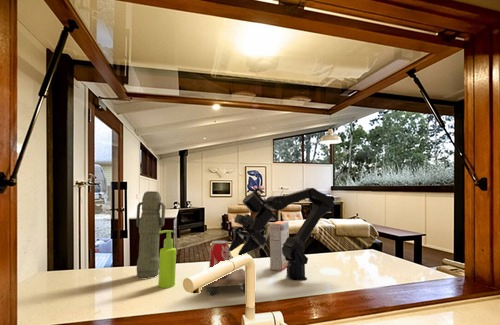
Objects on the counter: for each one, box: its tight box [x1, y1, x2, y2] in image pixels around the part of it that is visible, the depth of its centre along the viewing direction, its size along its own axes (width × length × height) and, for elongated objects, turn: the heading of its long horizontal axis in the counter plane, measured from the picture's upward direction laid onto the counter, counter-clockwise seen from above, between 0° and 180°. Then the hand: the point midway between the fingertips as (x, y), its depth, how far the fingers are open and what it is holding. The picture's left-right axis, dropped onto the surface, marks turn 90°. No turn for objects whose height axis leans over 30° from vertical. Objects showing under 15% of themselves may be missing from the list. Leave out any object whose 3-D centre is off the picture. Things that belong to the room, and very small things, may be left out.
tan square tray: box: [205, 268, 246, 296], centre depth 98 cm, size 16×14×4 cm
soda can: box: [209, 240, 230, 278], centre depth 97 cm, size 7×7×12 cm
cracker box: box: [268, 220, 290, 272], centre depth 130 cm, size 14×6×21 cm, turn 157°
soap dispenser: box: [157, 229, 177, 289], centre depth 101 cm, size 6×7×20 cm
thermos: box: [135, 190, 166, 279], centre depth 116 cm, size 9×12×35 cm
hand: (234, 252), depth 100 cm, fingers open, 9 cm apart
